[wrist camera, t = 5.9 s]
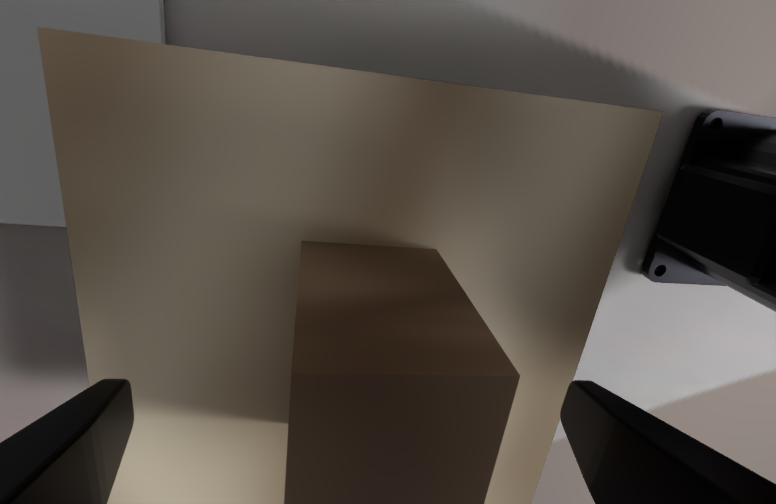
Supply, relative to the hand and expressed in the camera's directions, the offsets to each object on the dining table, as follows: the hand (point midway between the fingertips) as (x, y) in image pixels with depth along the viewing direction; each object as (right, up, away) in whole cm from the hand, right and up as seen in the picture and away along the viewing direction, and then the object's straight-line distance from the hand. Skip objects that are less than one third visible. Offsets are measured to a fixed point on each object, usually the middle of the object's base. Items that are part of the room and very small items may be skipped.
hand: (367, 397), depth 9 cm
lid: (0, +1, +3) cm, 3 cm away
